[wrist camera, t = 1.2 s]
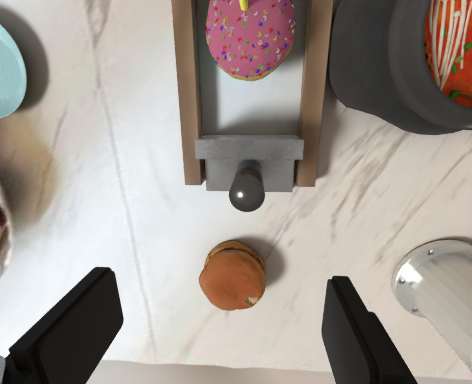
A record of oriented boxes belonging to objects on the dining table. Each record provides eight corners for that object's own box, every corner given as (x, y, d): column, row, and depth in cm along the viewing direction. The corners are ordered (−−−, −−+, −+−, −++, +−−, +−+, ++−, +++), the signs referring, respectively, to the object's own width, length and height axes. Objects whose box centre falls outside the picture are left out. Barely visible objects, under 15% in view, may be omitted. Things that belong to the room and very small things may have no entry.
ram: (294, 134, 29) (314, 144, 20) (290, 189, 32) (307, 222, 22) (205, 134, 30) (182, 144, 20) (208, 187, 32) (188, 219, 23)
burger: (213, 232, 35) (207, 249, 30) (274, 250, 35) (277, 270, 31) (197, 285, 38) (189, 307, 34) (252, 301, 38) (252, 326, 34)
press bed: (331, -51, 24) (358, -108, 18) (310, 181, 31) (324, 198, 25) (175, -42, 25) (149, -93, 19) (190, 179, 32) (174, 195, 26)
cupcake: (200, 21, 27) (160, -48, 15) (272, -19, 25) (287, -129, 14) (231, 97, 29) (216, 86, 18) (299, 64, 27) (331, 29, 16)
